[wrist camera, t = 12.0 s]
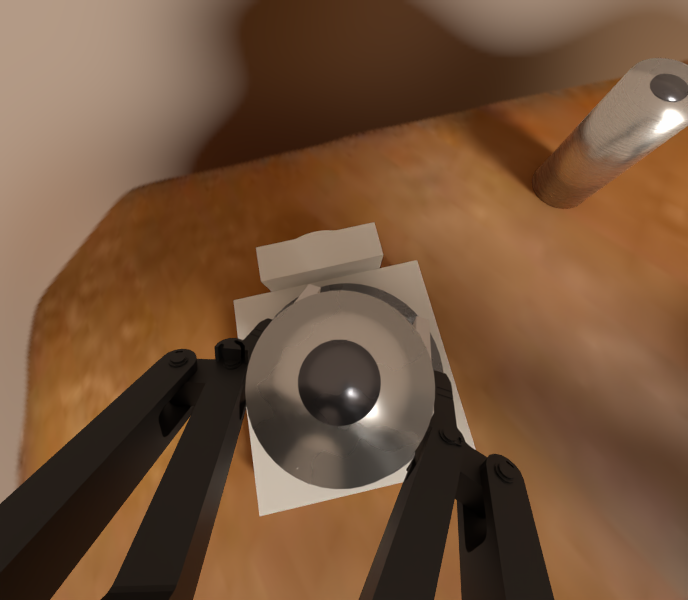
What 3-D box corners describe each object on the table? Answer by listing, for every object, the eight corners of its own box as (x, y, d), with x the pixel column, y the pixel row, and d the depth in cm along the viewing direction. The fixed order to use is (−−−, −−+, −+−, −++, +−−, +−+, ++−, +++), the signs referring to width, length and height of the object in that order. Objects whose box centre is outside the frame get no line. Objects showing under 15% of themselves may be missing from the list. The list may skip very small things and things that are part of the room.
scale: (399, 244, 30) (413, 207, 23) (459, 448, 25) (500, 478, 18) (245, 278, 29) (212, 250, 22) (274, 492, 24) (244, 540, 17)
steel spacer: (573, 158, 32) (686, 50, 21) (596, 202, 30) (731, 110, 19) (524, 168, 32) (612, 65, 21) (544, 213, 30) (651, 127, 19)
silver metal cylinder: (376, 325, 20) (405, 272, 9) (398, 410, 19) (462, 463, 8) (297, 343, 20) (233, 311, 9) (312, 431, 18) (258, 513, 8)
